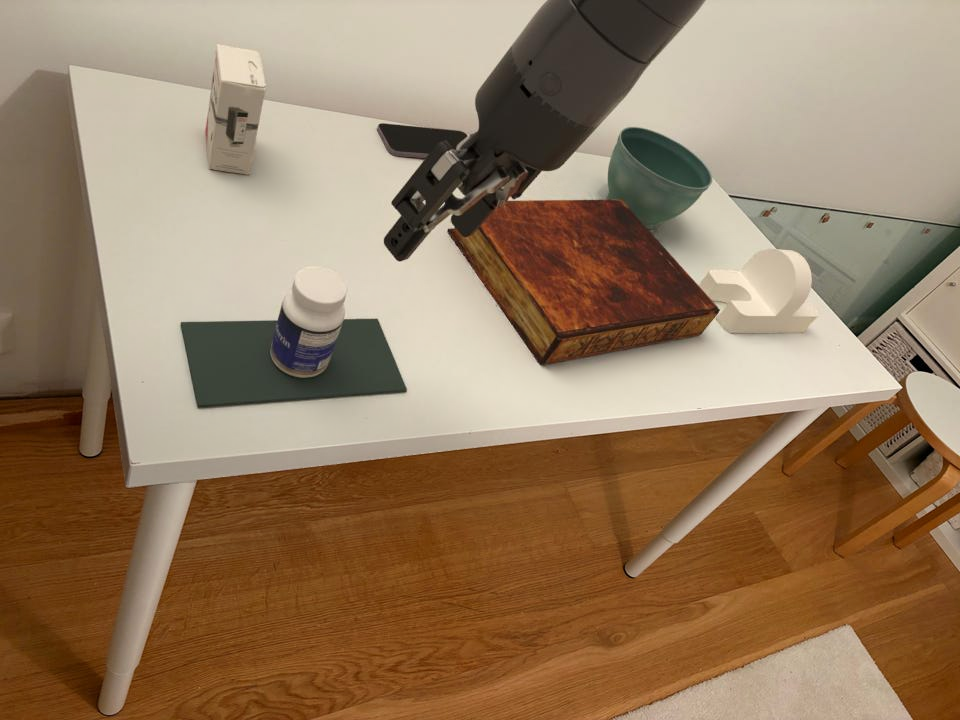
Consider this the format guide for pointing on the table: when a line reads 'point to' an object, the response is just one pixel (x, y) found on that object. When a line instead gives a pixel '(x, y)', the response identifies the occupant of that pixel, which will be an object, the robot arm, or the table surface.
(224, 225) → the table surface
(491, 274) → the book
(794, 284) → the white slotted holder
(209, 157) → the ink box
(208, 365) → the mat
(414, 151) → the smartphone
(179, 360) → the table surface
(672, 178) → the green bowl
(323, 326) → the pill bottle
